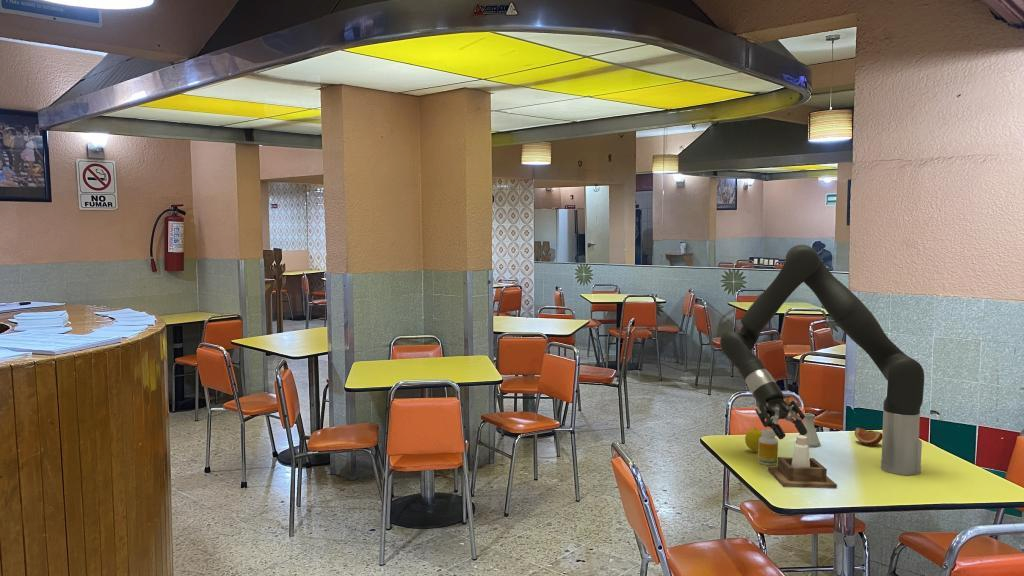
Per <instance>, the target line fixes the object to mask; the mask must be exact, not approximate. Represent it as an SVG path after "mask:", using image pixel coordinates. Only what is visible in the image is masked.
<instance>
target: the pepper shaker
mask: <svg viewBox="0 0 1024 576" xmlns="http://www.w3.org/2000/svg"><path fill="white" fill-rule="evenodd" d="M795 437H796V440H797V443H795V444H794V445H793V450H792V451H793V452H792V465H791V466H792V467H810V458H811V457H810V449H809V448H810V447H808V445H806V444H807V437H806V436H803V435H799V434H798V435H796V436H795Z"/></svg>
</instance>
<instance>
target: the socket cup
mask: <svg viewBox="0 0 1024 576" xmlns="http://www.w3.org/2000/svg"><path fill="white" fill-rule="evenodd" d="M792 458H793V456H792V457H787V456H778V458H777V466H767V471H768V472H769V473H770V474H771V475H772V477H773V478H775V479H776V481H777V480H778V481H779V482H780V483H779V482H778V481H777V482H778V483H779V484H780V485H781V486H782V487H783V488H814V489H819V488H820V489H837V488H838V484H837V483H836V482H835V481H834V480H833V479H831V478H830V477H829V476H828V475H827V474H828V473H827V471H828V469H827V468H826V467H825V466H824V465H822V464H821V463H820V462H819V461H818V460H816V458H814V457H809V458H810V467H792V466H791V465H792Z"/></svg>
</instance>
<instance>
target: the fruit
mask: <svg viewBox="0 0 1024 576" xmlns="http://www.w3.org/2000/svg"><path fill="white" fill-rule="evenodd" d="M761 432H762V431H760V430H759V429H758V428H757V427H756V426H754V427H753V428H752V429H750V430H748V431H747V432H746V434H745V436H744V441H745V445H746V446H747V448H748V449H749V450H751V451H752V452H753V453H758V450H759V438H760V437H762V434H761Z"/></svg>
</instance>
